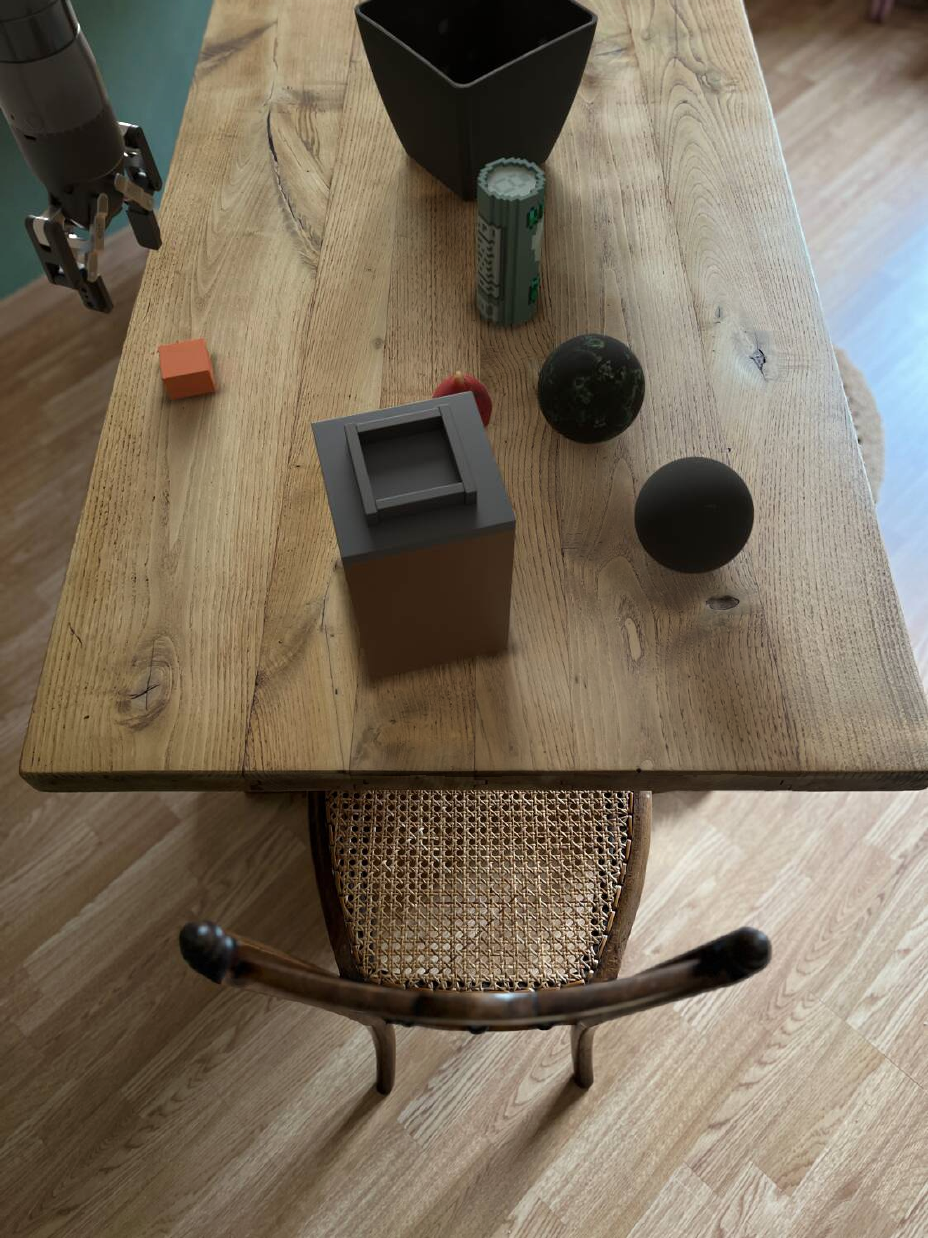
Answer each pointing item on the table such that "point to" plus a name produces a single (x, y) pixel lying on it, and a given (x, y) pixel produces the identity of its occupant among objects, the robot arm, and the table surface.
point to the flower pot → (476, 78)
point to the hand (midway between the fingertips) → (127, 277)
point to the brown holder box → (420, 531)
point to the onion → (467, 384)
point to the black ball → (694, 515)
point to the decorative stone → (591, 388)
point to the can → (509, 239)
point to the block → (186, 368)
